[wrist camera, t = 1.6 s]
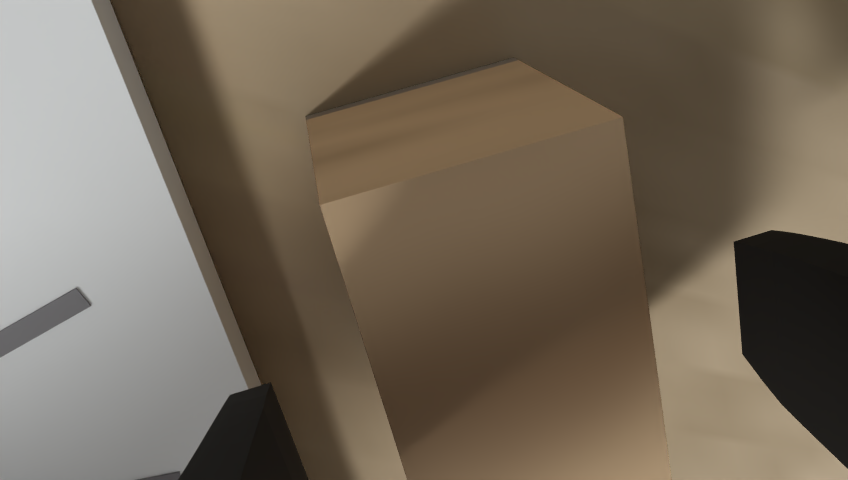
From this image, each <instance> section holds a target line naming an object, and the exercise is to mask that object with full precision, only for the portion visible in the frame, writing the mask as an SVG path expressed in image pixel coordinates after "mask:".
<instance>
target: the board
mask: <svg viewBox="0 0 848 480" xmlns="http://www.w3.org/2000/svg"><path fill="white" fill-rule="evenodd" d="M260 385H261V383H260V380H259V378H258V375H257V373H256V370H255V367H254V365H253V362H252V360H251V357H250V355H249V352H248V350H247V347H246V345H245V342H244V340H243V337H242V334H241V332H240V329H239V327H238V324H237V322H236V319H235V317H234V314H233V312H232V309H231V307H230V304H229V302H228V299H227V296H226V294H225V291H224V289H223V286H222V284H221V281H220V279H219V276H218V274H217V271H216V269H215V266H214V264H213V261H212V258H211V256H210V253H209V251H208V248H207V246H206V243H205V241H204V238H203V236H202V233H201V231H200V228H199V225H198V223H197V220H196V218H195V215H194V213H193V210H192V208H191V205H190V203H189V200H188V198H187V195H186V193H185V190H184V187H183V185H182V182H181V180H180V177H179V175H178V172H177V170H176V167H175V165H174V162H173V160H172V157H171V154H170V152H169V149H168V147H167V144H166V142H165V139H164V137H163V134H162V132H161V129H160V127H159V124H158V122H157V119H156V116H155V114H154V111H153V109H152V106H151V104H150V101H149V99H148V96H147V94H146V91H145V89H144V86H143V84H142V81H141V78H140V76H139V73H138V71H137V68H136V66H135V63H134V61H133V58H132V56H131V53H130V51H129V48H128V45H127V43H126V40H125V38H124V35H123V33H122V30H121V28H120V25H119V23H118V20H117V18H116V15H115V13H114V10H113V7H112V5H111V2H110V0H0V480H178V479H179V477H180V476H181V474H182V473H183V471H184V469H185V468H186V466H187V465H188V463H189V461H190V460H191V458H192V456H193V455H194V453H195V451H196V450H197V448H198V447H199V445H200V443H201V442H202V440H203V438H204V436H205V435H206V433H207V431H208V430H209V428H210V426H211V425H212V423H213V421H214V420H215V418H216V416H217V415H218V413H219V411H220V410H221V408H222V406H223V405H224V403H225V402H226V400H227V398H228V397H229V395H231V394H234V393H237V392H241V391H244V390H247V389H251V388H254V387H257V386H260Z"/></svg>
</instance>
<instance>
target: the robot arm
mask: <svg viewBox="0 0 848 480" xmlns="http://www.w3.org/2000/svg"><path fill="white" fill-rule="evenodd" d="M734 251H735V264H736V277H737V290H738V303H739V316H740V329H741V342H742V354H743V355H744V357H745V358H746V359H747V361H748V362H749V363H750V365H751V366H752V367H753V369H754V370H755V371H756V373H757V374H758V375H759V377H760V378H761V379H762V381H763V382H764V383H765V384H766V386H767V387H768V388H769V389H770V391H771V392H772V393H773V394H774V396H775V397H776V398H777V399H778V400H779V402H780V403H781V404H782V405H783V406H784V407H785V408H786V409H787V410H788V411H789V412H790V413H791V414H792V415H793V416H794V417H795V418H796V419H797V420H798V421H799V422H800V423H801V424H802V425H803V426H804V427H805V428H806V429H807V430H808V431H809V432H810V433H811V434H812V435H813V436H814V437H815V438H816V439H817V440H818V441H819V442H820V443H821V444H823V445H824V446H825V447H826V448H827V449H828V450H829V451H830V452H831V453H832V454H833V455H834V456H835V457H836V458H837V459H838V460H839V461H840V462H841V463H842V464H843V465H844V466H846V467H847V468H848V244H846V243H842V242H837V241H832V240H828V239H823V238H818V237H813V236H808V235H802V234H797V233H790V232H783V231H774V230H771V231H767V232H764V233H761V234H757V235H754V236H751V237H748V238H744V239H741V240H738V241H734ZM178 480H308V477H307V475H306V472H305V470H304V467H303V465H302V462H301V459H300V457H299V454H298V452H297V449H296V446H295V444H294V441H293V439H292V436H291V434H290V431H289V428H288V426H287V423H286V421H285V418H284V416H283V413H282V410H281V408H280V405H279V403H278V400H277V398H276V395H275V392H274V390H273V387H272V385H271V382H270V383H267V384H264V385H260V386H257V387H254V388H251V389H247V390H244V391H241V392H237V393H234V394H231V395H229V397H228V398H227V400H226V402H225V403H224V405H223V406H222V408H221V410H220V411H219V413H218V415H217V416H216V418H215V420H214V421H213V423H212V425H211V426H210V428H209V430H208V431H207V433H206V435H205V436H204V438H203V440H202V442H201V443H200V445H199V447H198V448H197V450H196V451H195V453H194V455H193V456H192V458H191V460H190V461H189V463H188V465H187V466H186V468H185V469H184V471H183V473H182V474H181V476H180V477H179V479H178Z"/></svg>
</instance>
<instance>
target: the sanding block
mask: <svg viewBox="0 0 848 480" xmlns="http://www.w3.org/2000/svg"><path fill="white" fill-rule="evenodd" d="M305 117H306V123H307V129H308V135H309V141H310V148H311V154H312V160H313V166H314V173H315V179H316V185H317V191H318V198H319V204H320V208H321V211H322V214H323V217H324V220H325V223H326V226H327V230H328V233H329V236H330V239H331V242H332V245H333V248H334V251H335V255H336V258H337V261H338V264H339V267H340V270H341V273H342V277H343V280H344V283H345V286H346V289H347V292H348V295H349V298H350V302H351V305H352V308H353V311H354V314H355V317H356V320H357V324H358V327H359V330H360V333H361V336H362V339H363V342H364V346H365V349H366V352H367V355H368V358H369V361H370V364H371V367H372V371H373V374H374V377H375V380H376V383H377V386H378V389H379V393H380V396H381V399H382V402H383V405H384V408H385V411H386V414H387V418H388V421H389V424H390V427H391V430H392V433H393V436H394V440H395V443H396V446H397V449H398V452H399V455H400V458H401V462H402V465H403V468H404V471H405V474H406V477H407V480H672V477H671V470H670V462H669V455H668V447H667V440H666V433H665V425H664V418H663V410H662V403H661V395H660V388H659V381H658V373H657V366H656V358H655V351H654V344H653V336H652V329H651V321H650V314H649V306H648V299H647V292H646V284H645V277H644V269H643V262H642V254H641V247H640V240H639V232H638V225H637V217H636V210H635V203H634V195H633V188H632V180H631V173H630V165H629V158H628V151H627V143H626V136H625V128H624V121H623V117H622V116H620V115H619V114H617V113H615V112H613V111H611V110H609V109H608V108H606V107H604V106H602V105H600V104H598V103H597V102H595V101H593V100H591V99H589V98H587V97H586V96H584V95H582V94H580V93H578V92H576V91H575V90H573V89H571V88H569V87H567V86H565V85H563V84H562V83H560V82H558V81H556V80H554V79H552V78H551V77H549V76H547V75H545V74H543V73H541V72H540V71H538V70H536V69H534V68H532V67H530V66H529V65H527V64H525V63H523V62H521V61H519V60H518V59H516V58H510V59H507V60H503V61H500V62H496V63H493V64H489V65H485V66H482V67H478V68H475V69H471V70H468V71H464V72H461V73H457V74H454V75H450V76H446V77H443V78H439V79H436V80H432V81H429V82H425V83H422V84H418V85H415V86H411V87H407V88H404V89H400V90H397V91H393V92H390V93H386V94H383V95H379V96H376V97H372V98H369V99H365V100H361V101H358V102H354V103H351V104H347V105H344V106H340V107H337V108H333V109H330V110H326V111H322V112H319V113H315V114H312V115H308V116H305Z"/></svg>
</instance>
